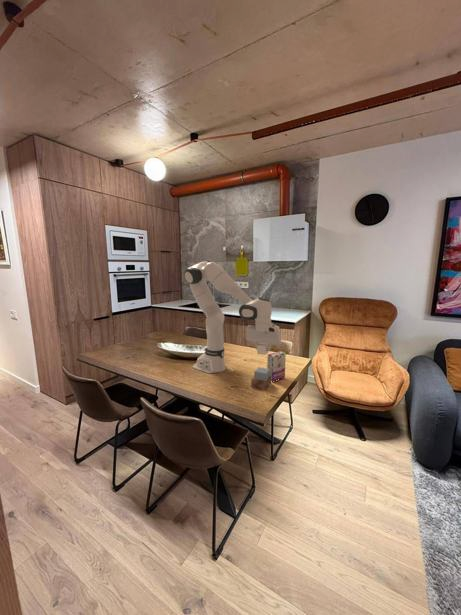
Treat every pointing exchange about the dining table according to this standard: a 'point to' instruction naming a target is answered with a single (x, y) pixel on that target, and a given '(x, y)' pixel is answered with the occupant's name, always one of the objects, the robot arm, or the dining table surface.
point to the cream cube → (262, 348)
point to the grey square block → (262, 374)
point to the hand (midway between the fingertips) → (262, 350)
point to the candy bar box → (276, 365)
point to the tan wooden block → (260, 383)
